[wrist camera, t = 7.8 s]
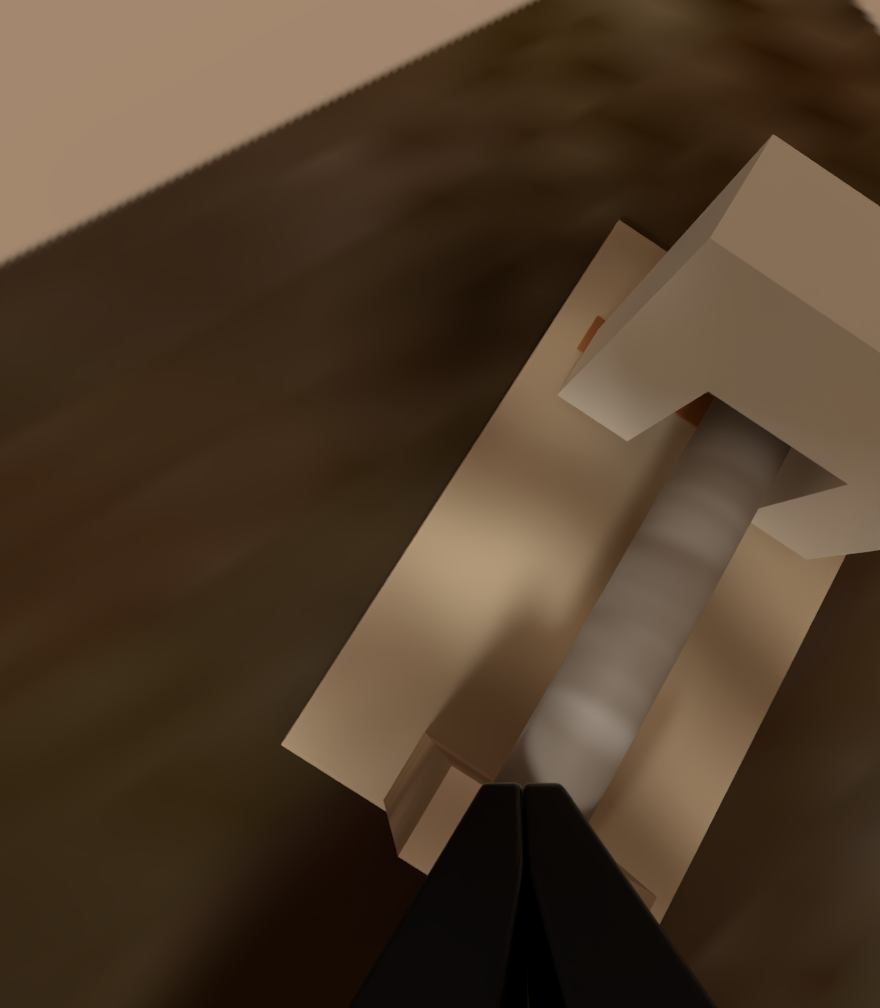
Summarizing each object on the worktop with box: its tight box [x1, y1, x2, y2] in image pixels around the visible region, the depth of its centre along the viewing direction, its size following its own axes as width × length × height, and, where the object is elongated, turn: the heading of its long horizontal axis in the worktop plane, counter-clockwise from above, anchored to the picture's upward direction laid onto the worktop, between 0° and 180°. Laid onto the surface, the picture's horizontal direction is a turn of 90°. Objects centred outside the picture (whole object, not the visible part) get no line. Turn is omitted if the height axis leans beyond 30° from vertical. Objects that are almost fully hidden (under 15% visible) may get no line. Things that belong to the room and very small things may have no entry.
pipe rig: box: [281, 220, 846, 924], centre depth 20 cm, size 18×11×6 cm, turn 148°
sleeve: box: [557, 134, 880, 560], centre depth 18 cm, size 3×9×9 cm, turn 58°
